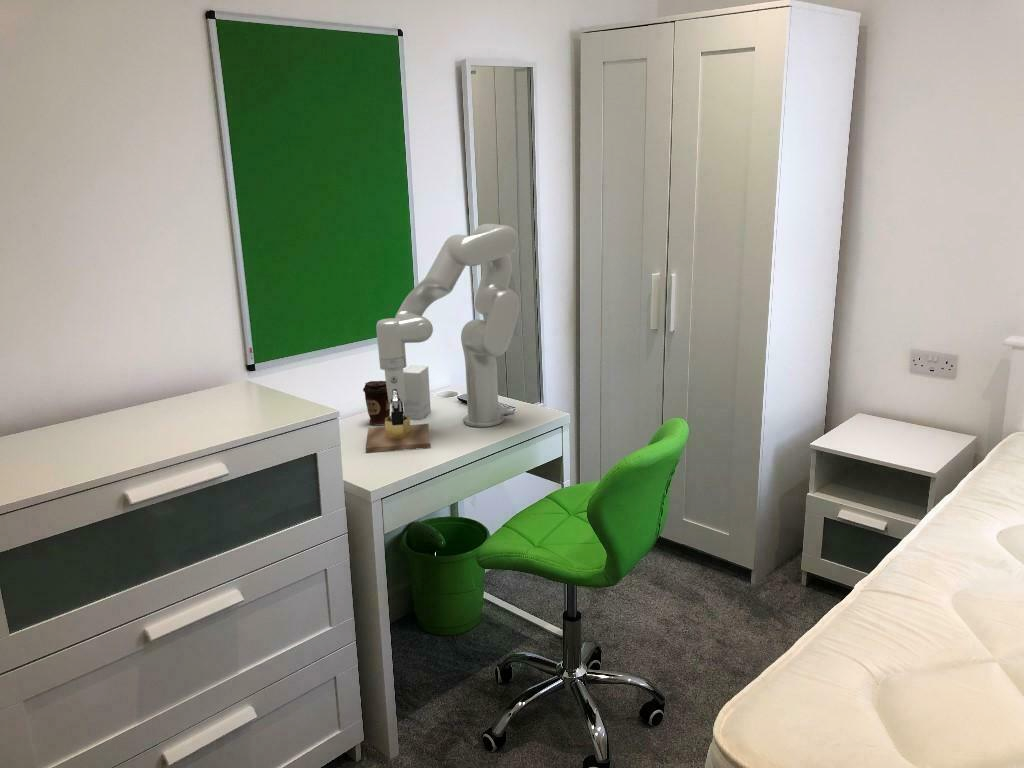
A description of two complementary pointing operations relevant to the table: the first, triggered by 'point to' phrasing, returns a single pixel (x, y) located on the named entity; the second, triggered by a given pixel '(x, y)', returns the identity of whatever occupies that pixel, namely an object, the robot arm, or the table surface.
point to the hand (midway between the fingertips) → (398, 419)
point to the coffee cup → (377, 402)
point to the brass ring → (397, 428)
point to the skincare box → (417, 392)
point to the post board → (381, 443)
